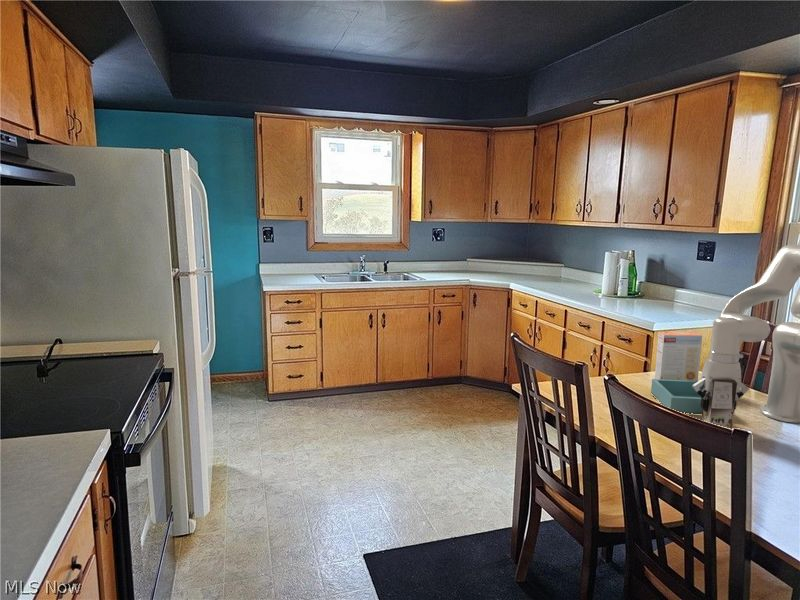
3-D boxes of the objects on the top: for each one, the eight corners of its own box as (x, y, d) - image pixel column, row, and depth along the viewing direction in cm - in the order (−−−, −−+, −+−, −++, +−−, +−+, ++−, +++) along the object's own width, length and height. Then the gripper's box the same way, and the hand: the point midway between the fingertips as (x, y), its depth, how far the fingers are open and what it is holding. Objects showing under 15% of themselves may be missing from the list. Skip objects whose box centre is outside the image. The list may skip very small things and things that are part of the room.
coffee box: (732, 432, 152) (738, 383, 149) (708, 429, 154) (713, 380, 151) (723, 420, 161) (728, 373, 158) (700, 417, 163) (705, 371, 160)
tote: (702, 396, 181) (704, 381, 180) (727, 417, 163) (729, 400, 162) (650, 394, 183) (652, 378, 182) (669, 414, 166) (671, 397, 165)
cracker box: (690, 382, 195) (695, 331, 191) (697, 387, 190) (703, 335, 186) (653, 381, 197) (658, 330, 193) (659, 386, 191) (664, 334, 187)
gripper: (747, 354, 156) (740, 407, 159) (688, 352, 158) (683, 404, 161) (761, 361, 148) (753, 416, 152) (699, 359, 151) (693, 414, 154)
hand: (717, 410), depth 157 cm, fingers closed on coffee box, 7 cm apart
